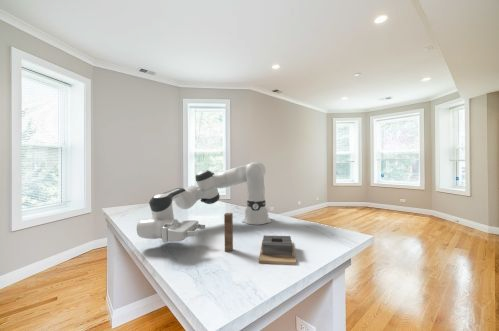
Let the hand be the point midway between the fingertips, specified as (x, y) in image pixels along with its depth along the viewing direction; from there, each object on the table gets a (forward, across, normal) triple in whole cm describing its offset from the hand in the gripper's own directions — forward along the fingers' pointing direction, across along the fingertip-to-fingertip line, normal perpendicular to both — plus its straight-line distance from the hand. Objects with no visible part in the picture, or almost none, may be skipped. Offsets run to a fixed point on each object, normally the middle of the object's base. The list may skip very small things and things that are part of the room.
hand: (201, 229), depth 103 cm
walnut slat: (+12, 0, -9) cm, 15 cm away
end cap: (+33, 0, -9) cm, 34 cm away
